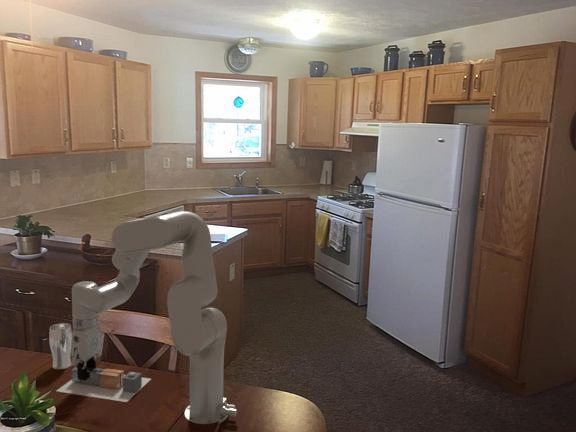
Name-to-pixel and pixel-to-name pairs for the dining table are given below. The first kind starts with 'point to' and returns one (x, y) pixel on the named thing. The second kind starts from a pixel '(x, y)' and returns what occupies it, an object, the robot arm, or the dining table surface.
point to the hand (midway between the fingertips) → (87, 375)
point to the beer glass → (60, 345)
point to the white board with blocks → (123, 393)
